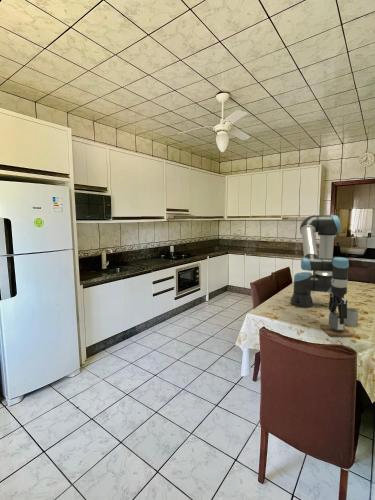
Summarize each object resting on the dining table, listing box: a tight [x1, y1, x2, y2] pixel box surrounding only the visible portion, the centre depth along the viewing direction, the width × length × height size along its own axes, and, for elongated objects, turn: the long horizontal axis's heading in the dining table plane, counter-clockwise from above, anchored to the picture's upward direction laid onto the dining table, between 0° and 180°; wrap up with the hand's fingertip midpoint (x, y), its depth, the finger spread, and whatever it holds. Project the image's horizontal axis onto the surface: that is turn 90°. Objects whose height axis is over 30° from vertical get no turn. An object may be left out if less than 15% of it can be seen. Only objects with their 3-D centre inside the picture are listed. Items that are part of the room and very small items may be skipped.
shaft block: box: [319, 324, 354, 338], centre depth 144 cm, size 12×12×6 cm
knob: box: [327, 311, 346, 329], centre depth 143 cm, size 7×7×8 cm
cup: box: [344, 307, 359, 328], centre depth 154 cm, size 7×10×9 cm
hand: (336, 326), depth 144 cm, fingers closed on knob, 7 cm apart
